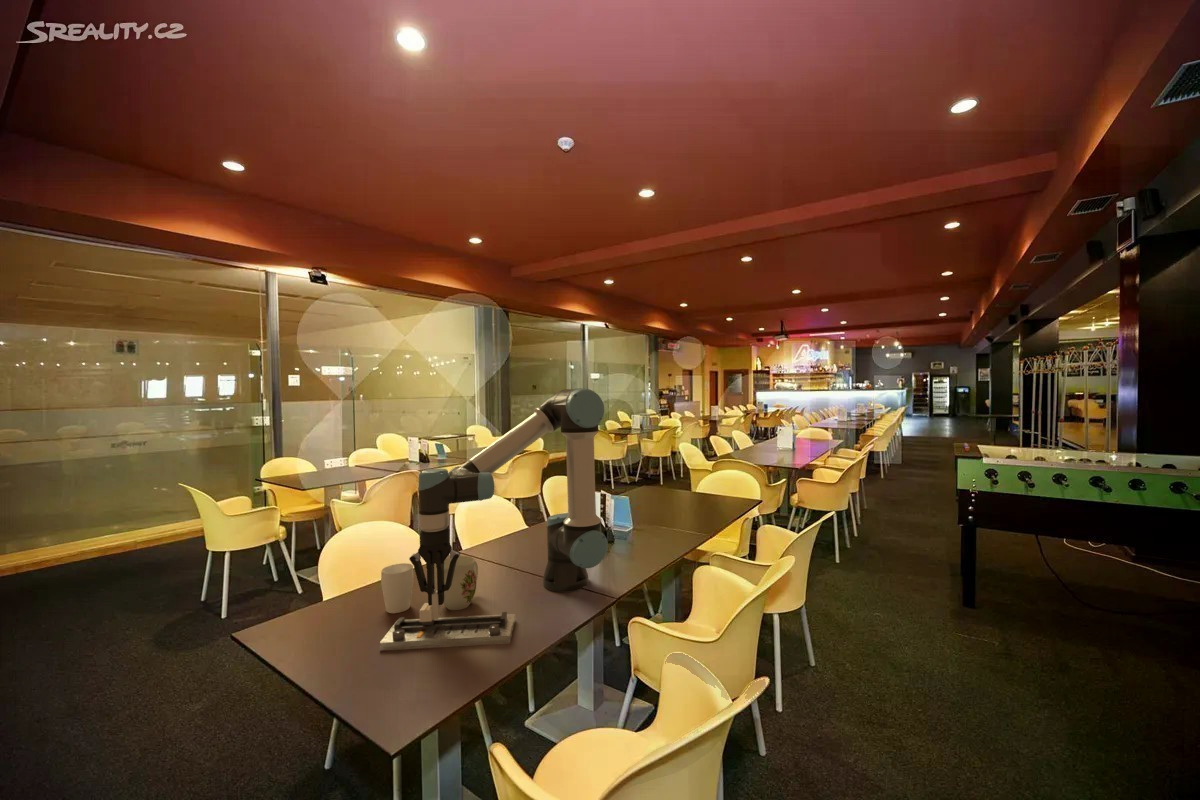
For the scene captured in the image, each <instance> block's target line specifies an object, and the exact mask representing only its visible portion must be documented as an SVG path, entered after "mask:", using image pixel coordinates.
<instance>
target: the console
mask: <svg viewBox="0 0 1200 800" xmlns="http://www.w3.org/2000/svg"><path fill="white" fill-rule="evenodd" d="M515 624H516V614H515V613H508V612H507V611H502V612H501V614H486V615H469V616H468V615H467V616H449V617H448V616H447V617H439V618H438V619H434V625H424V626H423V622H420V618H410V619H407V618H405V616H404V617H403V616H401V617H399V618H398V619H397V620H396V621H395V622H394V623H393V625H392V626H391V627H390V629H389V630H388V632H387V633H386V634H385V635H384V637H383V638H382V639H381V640H380V642H379V652H382V651H399V650H402V651H403V650H417V649H418V650H419V649H433V648H435V649H436V648H452V647H453V648H454V647H469V646H470V647H471V646H486V645H488V646H489V645H507V644H511V641H512V640H511V639H512V637H513V632H514V628H515Z"/></svg>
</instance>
